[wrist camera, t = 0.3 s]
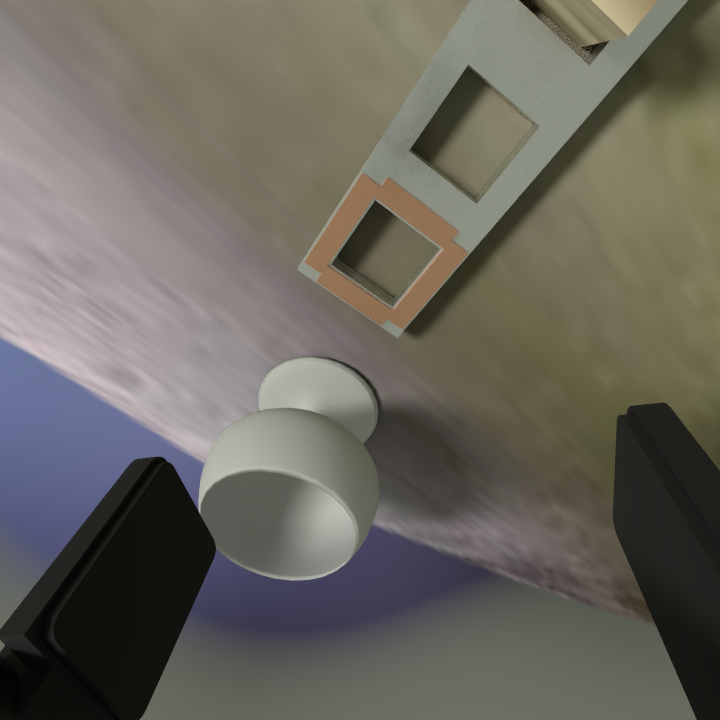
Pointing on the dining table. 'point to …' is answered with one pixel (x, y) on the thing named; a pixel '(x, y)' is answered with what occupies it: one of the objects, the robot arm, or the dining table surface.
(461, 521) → the dining table surface
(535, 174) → the rail
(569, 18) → the peg
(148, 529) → the robot arm
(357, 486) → the chalice
